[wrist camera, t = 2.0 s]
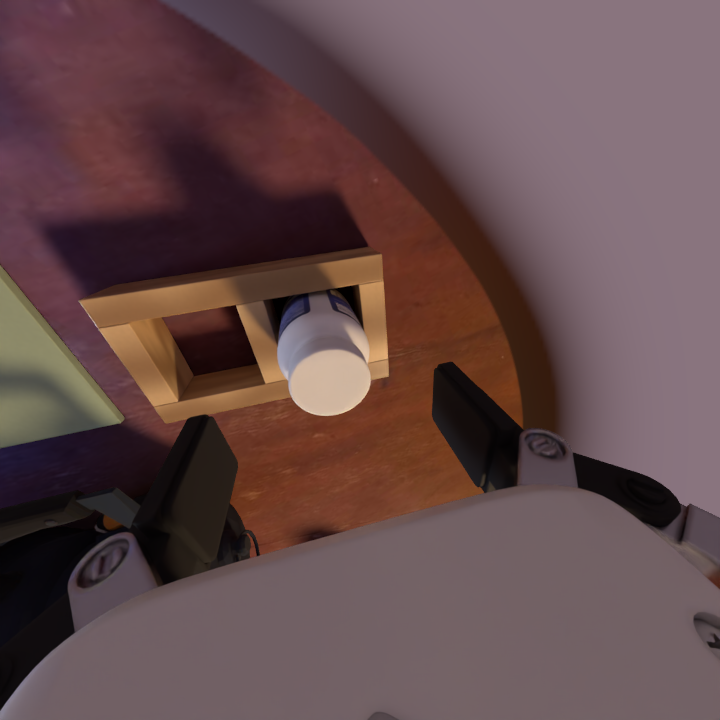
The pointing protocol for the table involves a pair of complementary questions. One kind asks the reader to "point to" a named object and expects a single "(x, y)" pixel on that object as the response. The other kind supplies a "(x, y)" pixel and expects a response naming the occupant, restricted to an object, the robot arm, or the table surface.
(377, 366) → the rack
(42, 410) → the mat
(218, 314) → the table surface
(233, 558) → the flashlight
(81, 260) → the table surface
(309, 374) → the pill bottle
